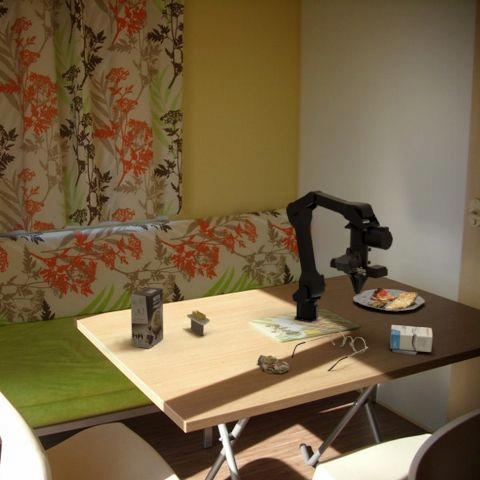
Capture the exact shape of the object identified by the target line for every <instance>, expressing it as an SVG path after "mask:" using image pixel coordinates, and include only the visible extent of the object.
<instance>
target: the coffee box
mask: <svg viewBox="0 0 480 480" xmlns="http://www.w3.org/2000/svg"><path fill="white" fill-rule="evenodd" d="M163 291H164V288H160V287H152V286H151V287H148V286H144V287H142V288H140V289H138V290H136V291H134V292H132V293H130V307H131V308H130V313H131V314H130V315H131V316H130V317H131V318H130V319H131V321H130V323H131V346H132V347H136V348H143V349H152V348H153V347H154V346H156V345H157V344H159V343H160V342H161V341H162V340H164V292H163Z"/></svg>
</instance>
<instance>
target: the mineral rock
mask: <svg viewBox="0 0 480 480" xmlns="http://www.w3.org/2000/svg"><path fill="white" fill-rule="evenodd" d="M256 362H257V364H258V367H260V368H262V369H261V370H262V371H263V372H265V373H269V374H282V373H285V372H288V371H290V364H289V363H288V362H287V361H284V360H283V359H281V358H280V359H278V358H277V357H276V356H275V357H274V356H273V355H267V356H266V355H264V354H263V355H262V354H260V355H259V357H258V359H257V361H256Z"/></svg>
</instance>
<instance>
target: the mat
mask: <svg viewBox="0 0 480 480" xmlns="http://www.w3.org/2000/svg"><path fill="white" fill-rule="evenodd" d="M418 352H419V351H412V350H400V349H392V353H397V354H402V355H403V354H404V355H411V356H417V353H418Z"/></svg>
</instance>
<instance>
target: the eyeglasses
mask: <svg viewBox="0 0 480 480" xmlns="http://www.w3.org/2000/svg"><path fill="white" fill-rule="evenodd" d="M335 332H336V330H334V331H333V332H332V333H331V334H327V335H323V336H320V337H317V338H314V339H311V340H307V341H302V342H299V343H297V344H296V345H295V347H294V349H293V352H292V355H291V359H293V358H294V356H295V351H296V349H297V347H298V346H300V345H304V344H306V343H309V342H313V341H317V340H320V339H324V338H330V341H331V343H332V345H333V346H336V344H335V343H334V342H333V340H332V335H333V334H334V333H335ZM338 332H339V333H340V334H341V335H342V336H343V340H342V344H341V345H339V347H344V346H345V344H346V341H347V338H350V339H351V341H350V343H349V346H350V347H351V348H352V350H353V351H354V353H351V354H350V355H348V356H347V355H346V356H344V357H343V358H340V359H339V360H337V362H335V364H333V365H332V366H331V367H330V368H329V369H328V370H327V372H330V371H332V370H333V368H335V366H336V365H337V364H339V362H342V361H343V360H345V359H348V358H349V357H352V356H354V355H357V354H359V355H360V354H363V353H365V352H366V350H369V347H368V346H366V344H367V343H366V340H365V339H364V338H363V337H359V336H358V337H357V336H356V337H355V338H354V339H353V338H352V336H351V335H350V336H349V335H348V336H345V335H344V334H343V332H342V331H341V330H338ZM357 338H359V339H361V340H362V341H363V343H364V348H363V349H361V350H359V351H357V350H356V349H355V347H354V342H355V340H356V339H357Z"/></svg>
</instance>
